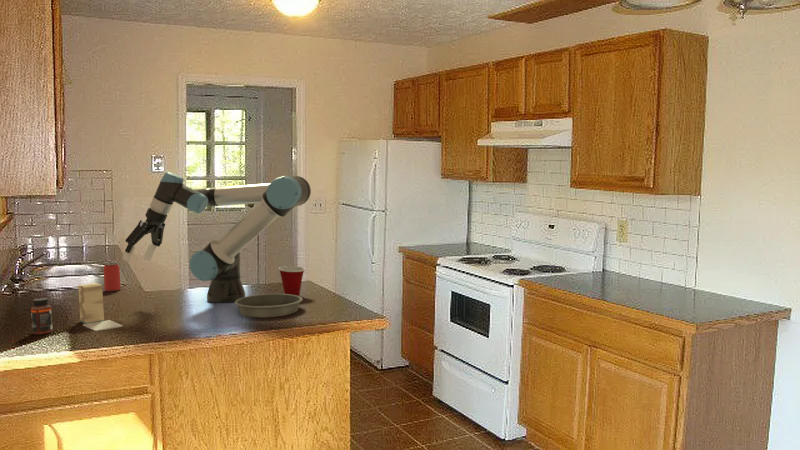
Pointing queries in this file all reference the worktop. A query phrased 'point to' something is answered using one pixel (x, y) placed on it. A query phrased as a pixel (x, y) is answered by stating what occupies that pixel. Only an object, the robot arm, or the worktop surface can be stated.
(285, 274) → the plastic cup
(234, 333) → the worktop surface
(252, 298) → the cake pan
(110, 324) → the mat
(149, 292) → the worktop surface
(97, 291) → the beech block
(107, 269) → the beer can
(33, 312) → the supplement bottle
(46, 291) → the worktop surface
